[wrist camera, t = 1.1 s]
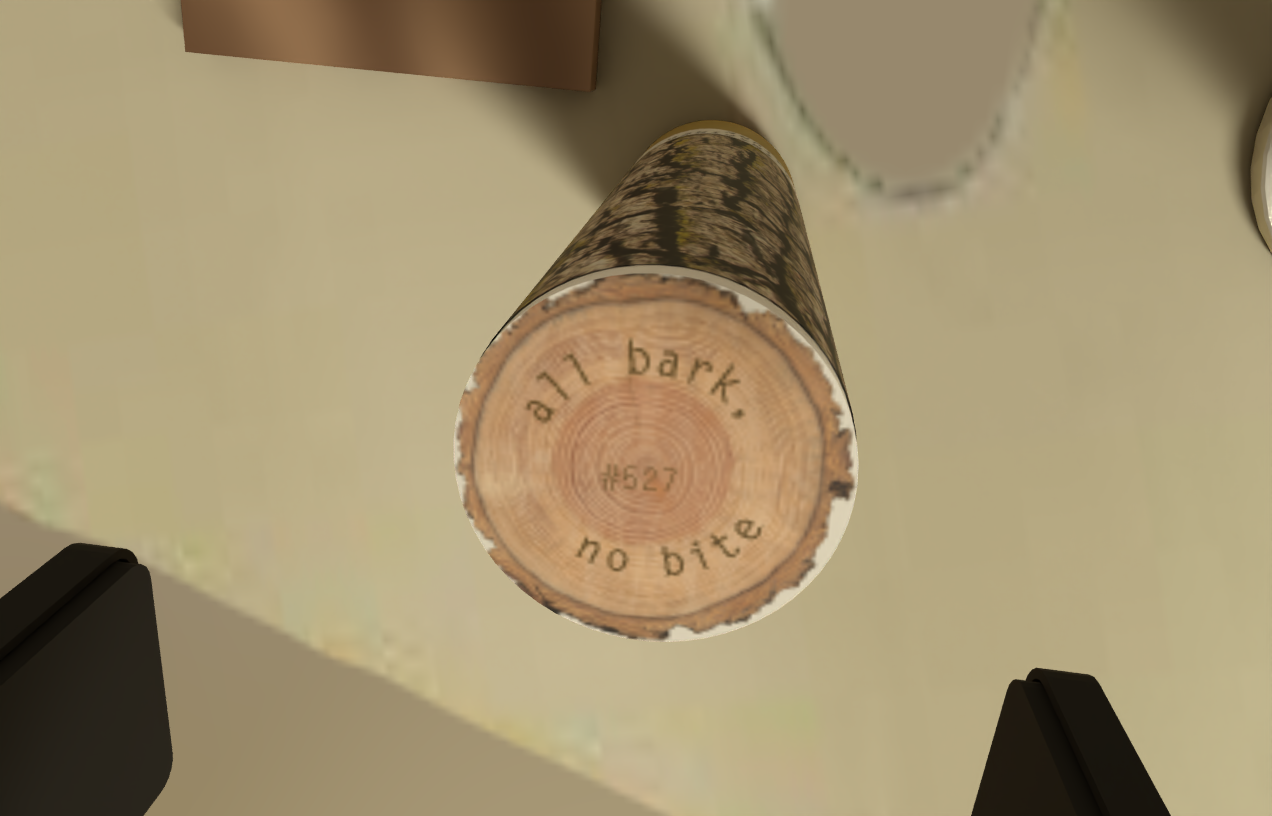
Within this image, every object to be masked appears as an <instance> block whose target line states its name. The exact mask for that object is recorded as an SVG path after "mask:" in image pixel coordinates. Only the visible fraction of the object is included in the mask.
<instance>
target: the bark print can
mask: <svg viewBox="0 0 1272 816" xmlns="http://www.w3.org/2000/svg"><path fill="white" fill-rule="evenodd" d="M454 466H455V474H456V480H457V485H458V489H459V493H460V497H461V500H462V503H463V506H464V509H465V512H466V515H467V517H468V519H469V521H470V523H471V525H472V527H473V530H474V532H475V533H476V535H477V537H478V538H479V540H480V542H481V543H482V545H483V547H484V548H485V550H486V551H487V552H488V554H489V555H490V556H491V558H492V559H493V560H494V562H495V563H496V564H497V565H498V566H499V568H500V569H501V570H502V571H503V572H504V573H505V574H506V575H507V576H508V577H509V578H510V579H511V580H512V581H513V582H514V583H515V584H516V585H517V586H518V587H519V588H520V589H522V590H523V591H524V592H525V593H527V594H528V595H529V596H531V597H532V598H533V599H534V600H536V601H537V602H539V603H540V604H542V605H543V606H545V607H546V608H548V609H550V610H551V611H553V612H554V613H556V614H558V615H560V616H562V617H564V618H566V619H568V620H570V621H572V622H575V623H577V624H579V625H582V626H584V627H587V628H589V629H592V630H596V631H599V632H602V633H605V634H609V635H613V636H618V637H623V638H627V639H635V640H643V641H660V642H672V641H688V640H695V639H702V638H708V637H712V636H716V635H720V634H725V633H728V632H731V631H734V630H736V629H739V628H742V627H745V626H747V625H749V624H751V623H754V622H756V621H758V620H760V619H762V618H764V617H766V616H767V615H769V614H771V613H773V612H774V611H776V610H778V609H779V608H781V607H782V606H783V605H785V604H786V603H788V602H789V601H790V600H792V599H793V598H794V597H795V596H797V595H798V594H799V593H800V592H801V591H802V590H803V589H805V588H806V587H807V586H808V585H809V584H810V583H811V581H812V580H813V579H814V578H815V577H816V576H817V575H818V574H819V573H820V572H821V570H822V569H823V567H824V566H825V565H826V563H827V562H828V561H829V559H830V558H831V557H832V555H833V553H834V551H835V550H836V548H837V546H838V544H839V543H840V541H841V539H842V536H843V534H844V532H845V529H846V527H847V525H848V522H849V519H850V516H851V512H852V509H853V506H854V501H855V496H856V490H857V483H858V450H857V440H856V430H855V424H854V419H853V413H852V409H851V406H850V402H849V398H848V394H847V390H846V386H845V382H844V378H843V374H842V370H841V366H840V362H839V358H838V354H837V351H836V347H835V343H834V339H833V335H832V331H831V327H830V323H829V319H828V315H827V311H826V307H825V303H824V299H823V295H822V292H821V288H820V284H819V280H818V276H817V272H816V268H815V264H814V260H813V256H812V252H811V248H810V244H809V240H808V237H807V233H806V229H805V225H804V221H803V217H802V213H801V209H800V205H799V201H798V198H797V194H796V191H795V188H794V184H793V181H792V178H791V175H790V172H789V170H788V168H787V166H786V164H785V162H784V160H783V159H782V157H781V156H780V154H779V153H778V152H777V151H776V149H775V148H774V147H773V146H772V145H771V144H770V143H769V142H768V141H767V140H766V139H764V138H763V137H762V136H760V135H759V134H757V133H756V132H754V131H752V130H750V129H748V128H746V127H744V126H742V125H739V124H735V123H732V122H727V121H720V120H703V121H696V122H692V123H688V124H685V125H682V126H679V127H677V128H675V129H673V130H671V131H669V132H667V133H666V134H664V135H663V136H661V137H660V138H659V139H657V140H656V141H655V142H654V143H653V144H652V145H651V146H650V147H649V148H648V149H647V150H646V151H645V153H644V154H643V155H642V156H641V157H640V158H639V159H638V160H637V163H636V164H635V165H633V166H632V168H631V169H630V170H629V171H628V173H627V174H626V175H625V176H624V178H623V179H622V180H621V181H620V182H619V184H618V185H617V186H616V187H615V189H614V190H613V191H612V192H611V194H610V195H609V196H608V197H607V199H606V200H605V201H604V202H603V203H602V205H601V206H600V207H599V208H598V210H597V211H596V212H595V213H594V215H593V216H592V217H591V218H590V219H589V221H588V222H587V223H586V224H585V226H584V227H583V228H582V229H581V231H580V232H579V233H578V234H577V236H576V237H575V238H574V239H573V240H572V242H571V243H570V244H569V245H568V247H567V248H566V249H565V250H564V252H563V253H562V254H561V255H560V257H559V258H558V259H557V260H556V261H555V263H554V264H553V265H552V266H551V268H550V269H549V270H548V271H547V273H546V274H545V275H544V276H543V277H542V279H541V280H540V281H539V282H538V284H537V285H536V286H535V287H534V289H533V290H532V291H531V292H530V294H529V295H528V296H527V297H526V298H525V300H524V301H523V302H522V303H521V305H520V306H519V307H518V308H517V310H516V311H515V312H514V313H513V315H512V316H511V317H510V318H509V319H508V321H507V322H506V323H505V324H504V326H503V327H502V328H501V329H500V331H499V332H498V333H497V334H496V336H495V337H494V338H493V339H492V341H491V342H490V344H489V345H488V347H487V348H486V350H485V351H484V353H483V355H482V356H481V358H480V360H479V362H478V363H477V365H476V366H475V368H474V370H473V372H472V374H471V376H470V378H469V380H468V382H467V384H466V387H465V390H464V393H463V396H462V399H461V401H460V405H459V409H458V414H457V418H456V424H455V433H454Z"/></svg>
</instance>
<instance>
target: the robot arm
mask: <svg viewBox="0 0 1272 816" xmlns="http://www.w3.org/2000/svg"><path fill="white" fill-rule="evenodd" d="M1251 200H1252V204H1253V208H1254V212H1255V216H1256V220H1257V224H1258V227H1259V230H1260V232H1261V234H1262V236H1263V238H1264V240H1265V242H1266V243H1267V245H1268V247H1269V249H1270V251H1271V253H1272V97H1271V99H1270V101H1269V103H1268V105H1267V108H1266V111H1265V113H1264V116H1263V119H1262V121H1261V124H1260V127H1259V130H1258V132H1257V135H1256V140H1255V146H1254V152H1253V157H1252V163H1251ZM172 761H173V752H172V744H171V736H170V729H169V720H168V713H167V704H166V696H165V688H164V680H163V673H162V664H161V656H160V647H159V640H158V631H157V624H156V615H155V608H154V600H153V591H152V583H151V576H150V573H149V571H148V569H147V567H146V566H144V565H142V564H138V561H137V558H136V556H135V555H134V553H133V552H132V551H130V550H128V549H123V548H115V547H108V546H100V545H92V544H85V543H75V544H71V545H69V546H68V547H66V548H64V549H63V550H62V551H61V552H59V553H58V554H57V555H56V556H54V557H53V558H52V559H50V560H49V561H48V562H46V563H45V564H44V565H43V566H41V567H40V568H39V569H38V570H36V571H35V572H34V573H33V574H31V575H30V576H28V577H27V578H26V579H25V580H23V581H22V582H21V583H20V584H18V585H17V586H16V587H15V588H13V589H12V590H11V591H9V592H8V593H7V594H6V595H4V596H3V597H2V598H1V599H0V816H144V814H145V813H146V812H147V810H148V809H149V808H150V806H151V805H152V804H153V802H154V801H155V799H156V798H157V797H158V796H159V794H160V793H161V791H162V790H163V788H164V787H165V785H166V782H167V780H168V778H169V775H170V772H171V768H172ZM971 816H1171V815H1170V813H1169V811H1168V810H1167V808H1166V806H1165V804H1164V802H1163V800H1162V799H1161V797H1160V795H1159V793H1158V791H1157V789H1156V788H1155V786H1154V784H1153V782H1152V780H1151V778H1150V776H1149V775H1148V773H1147V771H1146V769H1145V767H1144V765H1143V764H1142V762H1141V760H1140V758H1139V756H1138V754H1137V752H1136V751H1135V749H1134V747H1133V745H1132V743H1131V741H1130V740H1129V738H1128V736H1127V734H1126V732H1125V730H1124V728H1123V727H1122V725H1121V723H1120V721H1119V719H1118V717H1117V716H1116V714H1115V712H1114V710H1113V708H1112V706H1111V704H1110V703H1109V701H1108V699H1107V697H1106V695H1105V693H1104V692H1103V690H1102V688H1101V686H1100V684H1099V683H1098V681H1097V680H1096V679H1095V677H1093V676H1091V675H1088V674H1080V673H1072V672H1065V671H1057V670H1050V669H1042V668H1035V669H1032V670H1031V672H1030V673H1029V674H1028V676H1027V678H1026V681H1025V680H1017V679H1015V680H1013V681H1012V682H1011V683H1010V684H1009V687H1008V689H1007V692H1006V696H1005V699H1004V703H1003V706H1002V710H1001V713H1000V717H999V720H998V724H997V727H996V731H995V734H994V738H993V741H992V745H991V748H990V752H989V755H988V759H987V762H986V766H985V769H984V773H983V776H982V780H981V783H980V787H979V790H978V794H977V797H976V801H975V804H974V808H973V811H972V815H971Z"/></svg>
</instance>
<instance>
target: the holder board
mask: <svg viewBox="0 0 1272 816" xmlns="http://www.w3.org/2000/svg"><path fill="white" fill-rule="evenodd" d="M601 4H602V0H181V7H182V18H183V29H184V41H185V52H193V53H203V54H213V55H223V56H233V57H243V58H253V59H263V60H273V61H283V62H294V63H304V64H314V65H324V66H334V67H344V68H354V69H364V70H374V71H384V72H394V73H405V74H415V75H425V76H435V77H445V78H455V79H465V80H475V81H485V82H495V83H505V84H516V85H526V86H536V87H546V88H556V89H566V90H576V91H586V92H591V91H593V90H595V89H596V79H597V64H598V49H599V34H600V19H601Z"/></svg>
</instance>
